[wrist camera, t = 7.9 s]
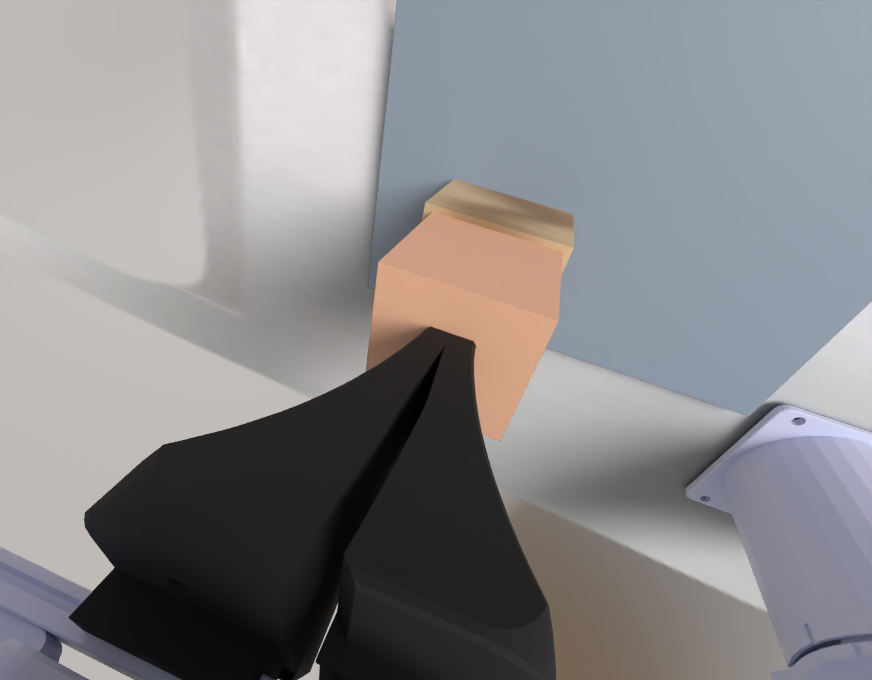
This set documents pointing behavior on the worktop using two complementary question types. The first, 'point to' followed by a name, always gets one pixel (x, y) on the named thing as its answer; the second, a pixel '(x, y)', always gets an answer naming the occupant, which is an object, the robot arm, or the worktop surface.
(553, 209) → the oak base block
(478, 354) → the terracotta block
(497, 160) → the board
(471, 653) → the robot arm
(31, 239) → the worktop surface
